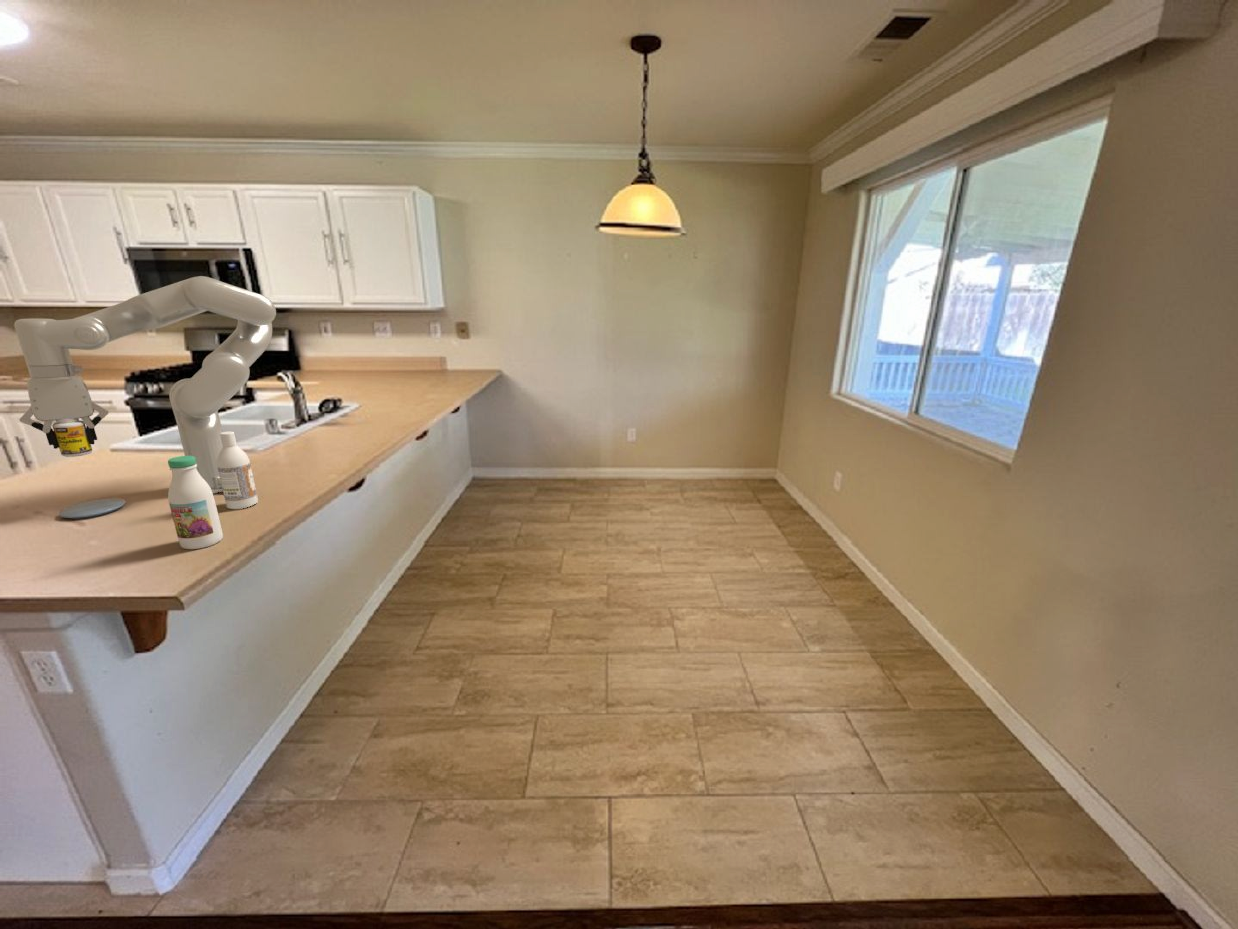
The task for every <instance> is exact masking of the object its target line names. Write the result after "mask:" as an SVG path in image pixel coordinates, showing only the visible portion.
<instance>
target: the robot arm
mask: <svg viewBox="0 0 1238 929" xmlns="http://www.w3.org/2000/svg"><path fill="white" fill-rule="evenodd" d="M205 312H210V313H214V314H216V315H220V316H223V317H227V318H229V319H234V320H237V325H236V328H235V329H234V331H233V332H232V333H231V334H230V335H229V336H228V337H227V338H226V339H225V340H224V341H223V342H222V343H221V344H220V345H218V347H217V348H215V349H214V350H213V351H212V352H210V353H209V354H208V355H206V356H205V358H204V359H203V361H202V364H201V368H200V369H199V370H197V372H195V374H193V376H192V377H190V378H183V379H180V380H178V381H176V382H175V383H174V384H173V385H172V386H171V388H170V390H169V393H168V395H169V402H170V405H171V409H172V412H173V415H174V419H175V421H176V426H177V430H178V434H179V437H180V442H181V447H182V449H183V450H182V451H183V454H184V455H183V456H194V457H195V459H196V464H197V466H196V469H197V471H198V473H199V474H200V475H201V477H202V478H203V479H204V480H205V481H206V482H207V483H208V485H209V486H210V488H211V490H212V493H213V495H214V494H219V493H223V489H222V485H221V481H220V476H219V472H218V468H217V459H218V456H219V453H220V452H221V450H222V448H223V445H222V441H221V437H220V433H222V432H224V431H223V426H222V423H221V419H220V415H219V410H221V408H222V407H223V406H224V405H225V404H226V403H227V402H229V400H231V399H232V398H233V397H234V396H235V395H236V394H237V393H238V392H239V391H240V390H241V389H242V388H243V387H244V386H245V384H247V382H248V380H249V378H250V372H251V370H250V367H251V366H252V365H253V364H254V363H255V362H256V361H257V359H259V358H260V357H261V356H262V355H263V353H264V352H266V350H267V348H268V347H269V345H270V344H271V341H272V337H273V324H272V323H273V321H274V320H275V319H276V316H277V310H276V306H275V305H274V303H273V302H272V301H271V299H270V298H268V297H267V296H265V295H263V294H260V293H257V292H254V291H251V290H247V289H245V288H242V287H238V286H235V285H233V284H230V283H227V282H223V281H221V280H218V279H215V278H212V277H209V276H203V275H199V276H194V277H193V276H192V277H190V278H187V279H184V280H180V281H178V282H174V283H172V284H168V285H165V286H162V287H159V288H156V289H153V290H149V291H148V292H147V291H146V292H145V293H141V294H138V295H135V296H132V297H131V298H128V299H127V300H125V301H122V302H120V303H117V304H114V305H111V306H109V307H106V308H102V309H99V310H96V311H93V312H90V313H87V314H84V315H81V316H77V317H74V318H71V319H54V318H20V319H17V320H15V322H14V324H13V327H14V330H15V333H16V335H17V338H18V342H19V345H20V348H21V351H22V354H23V357H24V361H25V364H26V367H27V370H28V374H29V377H30V378H27V380H26V382H27V383H26V385H27V392H28V398H29V403H30V407H29V409H27V410H26V411H25V412H24V413H23V415H22V416H21V417H20V418H19V421H20V422H21V423H23V424H26V425H28V426H31V427H32V428H34V429H36V430H39V431H41V432H42V433H44V434H45V436H46V439H47V444H48V445H49V446H53V449H59V446H58V443H57V440H56V436H55V433H54V430H53V426H52V425H53V421H56V420H61V419H66V418H72V419H76V418H79V419H81V421H83V422H84V423H85V425H86V432H87V435H88V439H89V442H90V444H91V445H95V441H98V436H97V432H96V430H95V427H96V426H97V425H98V424H99V423H100V422H101V421H102V420H103V419H104V418H106V417H107V415H109V413H110V412H109V410H108V409H106V408H104V407H102V406H101V405H99V404H98V403H95V402H94V401H93V400H92V397H91V395H90V392H89V390H88V387H87V385H86V383H85V381H84V379H83V378H82V376H81V375H77V374H78V373H80V372H81V373H82V372H84V369H83V368H84V367H83V366H82V365H76V364H74V363H73V359H72V355H71V352H70V350H81V351H83V350H84V351H95V350H99V349H102V348H104V347H105V346H106V345H107V344H108V343H110V342H113V341H115V340H118V339H121V338H124V337H127V336H129V335H133V334H137V333H140V332H143V331H148V330H157V329H160V328H163V327H167V326H170V325H172V324H175V323H177V322H180V321H183V320H185V319H188V318H191V317H194V316H197V315H199V314H202V313H205ZM95 411H96V412H98V413H97V415H96V416H94V414H95V413H94V412H95ZM32 416H34V418H35V419H36V420H37V421H36V420H34V419H32ZM92 416H94V417H93V418H92V419H91V418H90V417H92ZM39 421H40V422H39ZM41 422H43V423H41ZM218 492H219V493H218Z"/></svg>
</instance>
